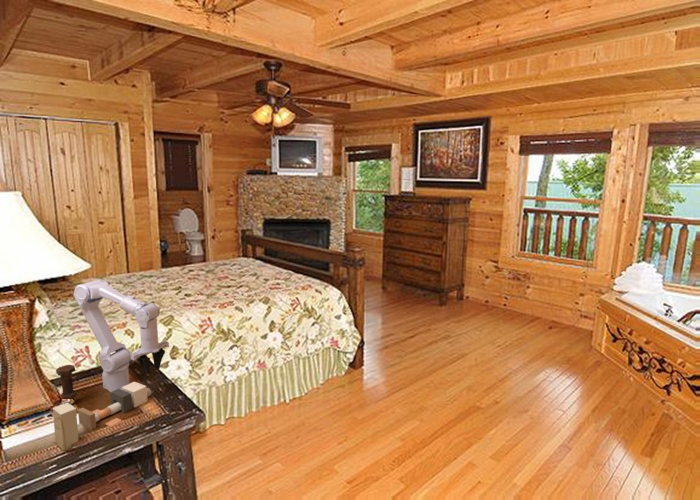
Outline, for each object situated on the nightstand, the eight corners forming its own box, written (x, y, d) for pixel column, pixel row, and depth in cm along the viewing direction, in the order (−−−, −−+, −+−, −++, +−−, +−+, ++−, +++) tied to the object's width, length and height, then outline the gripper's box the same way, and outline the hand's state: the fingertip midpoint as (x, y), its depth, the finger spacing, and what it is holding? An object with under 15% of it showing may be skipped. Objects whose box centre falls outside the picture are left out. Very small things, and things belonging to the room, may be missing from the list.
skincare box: (55, 444, 127) (51, 407, 125) (71, 436, 131) (67, 401, 129) (64, 451, 123) (59, 414, 121) (80, 444, 127) (76, 408, 125)
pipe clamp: (65, 425, 137) (63, 409, 136) (137, 391, 159) (136, 376, 158) (93, 440, 129) (92, 422, 128) (165, 402, 152) (164, 387, 151)
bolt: (68, 412, 144) (64, 372, 142) (56, 410, 145) (52, 370, 143) (82, 403, 150) (78, 365, 148) (70, 401, 151) (66, 363, 149)
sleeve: (122, 402, 149) (121, 387, 148) (135, 396, 153) (134, 381, 152) (134, 407, 146) (133, 392, 145) (147, 401, 150) (146, 386, 149)
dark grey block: (111, 407, 146) (110, 392, 145) (120, 403, 148) (118, 388, 147) (124, 413, 142) (122, 397, 141) (132, 409, 145) (130, 393, 144)
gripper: (138, 345, 144) (141, 381, 146) (173, 332, 157) (175, 366, 159) (125, 341, 147) (128, 377, 150) (161, 329, 160) (163, 362, 162)
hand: (151, 371), depth 155 cm, fingers open, 4 cm apart
